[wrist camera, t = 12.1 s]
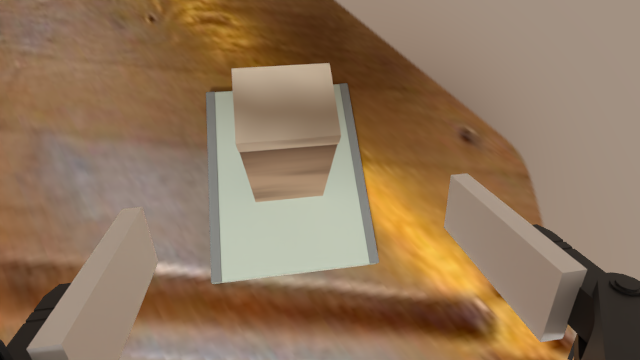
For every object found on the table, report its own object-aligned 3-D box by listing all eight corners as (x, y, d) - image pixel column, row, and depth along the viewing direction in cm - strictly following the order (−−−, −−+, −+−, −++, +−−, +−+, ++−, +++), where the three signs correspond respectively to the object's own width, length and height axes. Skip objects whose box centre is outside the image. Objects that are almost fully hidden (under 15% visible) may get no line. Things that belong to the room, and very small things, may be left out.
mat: (208, 98, 36) (206, 92, 35) (345, 89, 38) (347, 83, 37) (213, 283, 30) (211, 283, 29) (376, 263, 32) (379, 262, 31)
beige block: (251, 150, 34) (231, 68, 22) (316, 144, 34) (329, 63, 23) (255, 202, 32) (235, 143, 20) (323, 196, 33) (341, 135, 21)
